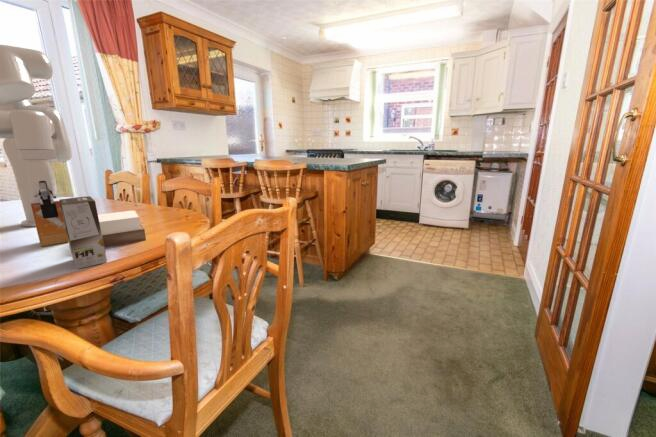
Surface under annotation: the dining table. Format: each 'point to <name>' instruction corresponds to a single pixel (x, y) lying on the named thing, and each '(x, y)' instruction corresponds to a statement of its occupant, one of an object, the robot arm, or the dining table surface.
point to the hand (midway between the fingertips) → (52, 214)
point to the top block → (119, 222)
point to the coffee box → (83, 231)
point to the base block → (124, 237)
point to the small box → (49, 225)
